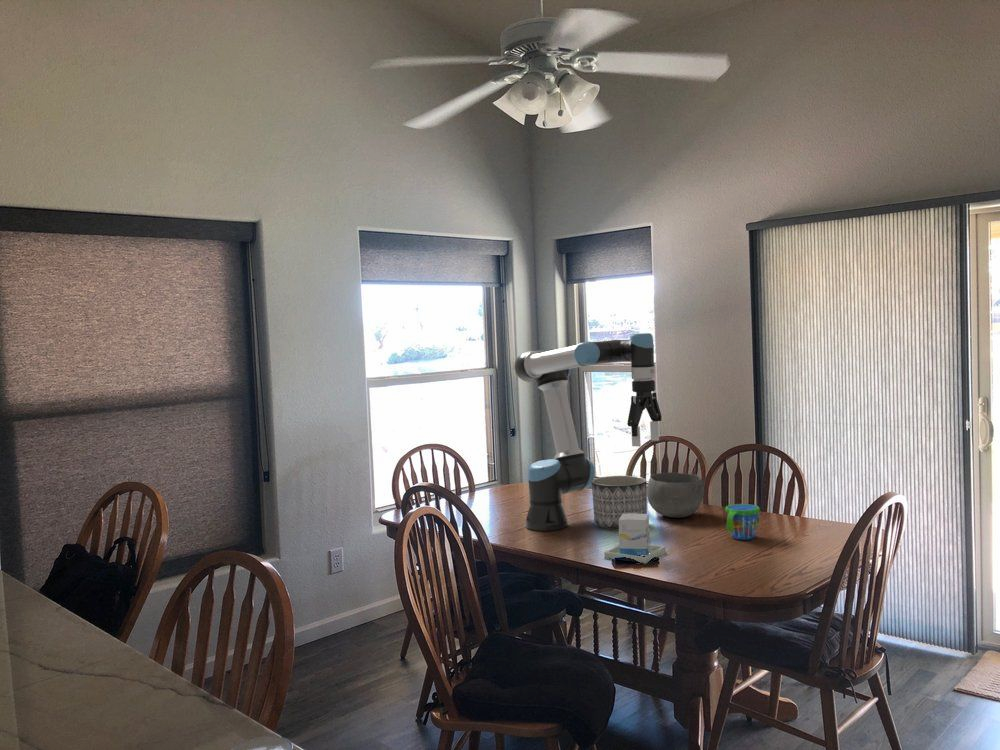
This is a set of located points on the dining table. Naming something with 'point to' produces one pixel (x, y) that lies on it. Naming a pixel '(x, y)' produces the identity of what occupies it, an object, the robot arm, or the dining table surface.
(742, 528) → the snack cup
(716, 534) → the dining table surface
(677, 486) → the bowl
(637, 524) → the ink box
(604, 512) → the planter
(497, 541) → the dining table surface
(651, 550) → the tray
